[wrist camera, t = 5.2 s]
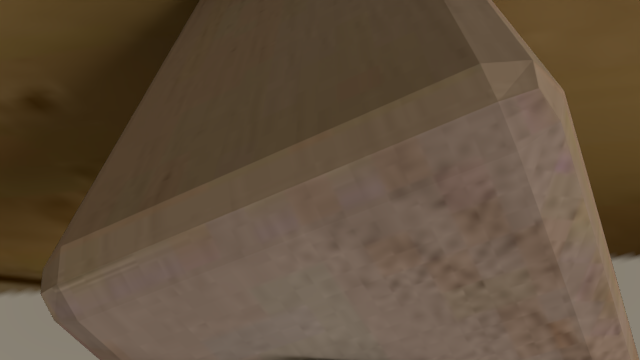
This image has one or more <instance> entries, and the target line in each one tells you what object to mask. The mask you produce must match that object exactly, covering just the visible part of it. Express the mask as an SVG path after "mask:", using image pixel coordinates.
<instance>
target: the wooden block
mask: <svg viewBox="0 0 640 360" xmlns="http://www.w3.org/2000/svg"><path fill="white" fill-rule="evenodd" d="M41 296H42V298H43V300H44V301H45V303H46V305H47V307H48V309H49V311H50V313H51V315H52V317H53V319H54V320H55V321H56V322H57V323H58V324H59V325H60V326H61V327H63V328H64V329H65V330H66V331H67V332H68V333H70V334H71V335H72V336H73V337H74V338H75V339H76V340H78V341H79V342H80V343H81V344H82V345H83V346H85V347H86V348H87V349H88V350H89V351H90V352H92V353H93V354H94V355H95V356H96V357H97V358H99V359H100V360H639V358H638V354H637V350H636V347H635V343H634V340H633V336H632V333H631V329H630V326H629V322H628V319H627V315H626V311H625V307H624V304H623V300H622V297H621V293H620V289H619V286H618V282H617V279H616V275H615V272H614V268H613V264H612V261H611V257H610V254H609V250H608V246H607V243H606V239H605V236H604V232H603V229H602V225H601V221H600V218H599V214H598V211H597V207H596V204H595V200H594V196H593V193H592V189H591V186H590V182H589V178H588V175H587V171H586V168H585V164H584V161H583V157H582V153H581V150H580V146H579V143H578V139H577V135H576V132H575V128H574V125H573V121H572V118H571V114H570V110H569V107H568V103H567V100H566V96H565V92H564V90H563V89H562V88H561V86H560V85H559V84H558V83H557V81H556V80H555V79H554V78H553V76H552V75H551V74H550V73H549V71H548V70H547V69H546V68H545V66H544V65H543V64H542V63H541V61H540V60H539V59H538V58H537V56H536V55H535V54H534V53H533V51H532V50H531V49H530V48H529V46H528V45H527V44H526V43H525V41H524V40H523V39H522V38H521V36H520V35H519V34H518V33H517V31H516V30H515V29H514V28H513V26H512V25H511V24H510V23H509V21H508V20H507V19H506V18H505V16H504V15H503V14H502V13H501V11H500V10H499V9H498V8H497V6H496V5H495V4H494V3H493V1H492V0H199V2H198V4H197V5H196V7H195V9H194V11H193V12H192V14H191V16H190V17H189V19H188V21H187V23H186V24H185V26H184V28H183V29H182V31H181V33H180V35H179V36H178V38H177V40H176V41H175V43H174V45H173V47H172V48H171V50H170V52H169V54H168V55H167V57H166V59H165V60H164V62H163V64H162V66H161V67H160V69H159V71H158V72H157V74H156V76H155V78H154V79H153V81H152V83H151V84H150V86H149V88H148V90H147V91H146V93H145V95H144V97H143V98H142V100H141V102H140V103H139V105H138V107H137V109H136V110H135V112H134V114H133V115H132V117H131V119H130V121H129V122H128V124H127V126H126V127H125V129H124V131H123V133H122V134H121V136H120V138H119V139H118V141H117V143H116V145H115V146H114V148H113V150H112V152H111V153H110V155H109V157H108V158H107V160H106V162H105V164H104V165H103V167H102V169H101V170H100V172H99V174H98V176H97V177H96V179H95V181H94V182H93V184H92V186H91V188H90V189H89V191H88V193H87V195H86V196H85V198H84V200H83V201H82V203H81V205H80V207H79V208H78V210H77V212H76V213H75V215H74V217H73V219H72V220H71V222H70V224H69V225H68V227H67V229H66V231H65V232H64V234H63V236H62V238H61V239H60V241H59V243H58V244H57V246H56V248H55V250H54V251H53V253H52V255H51V256H50V258H49V260H48V262H47V263H46V265H45V267H44V268H43V275H42V284H41Z"/></svg>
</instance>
